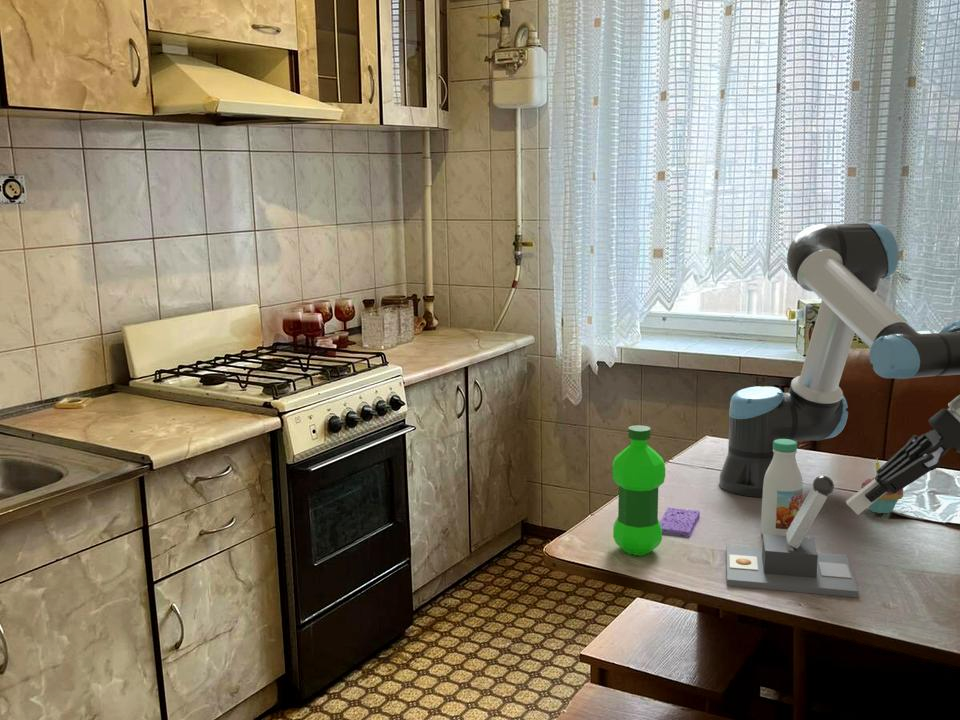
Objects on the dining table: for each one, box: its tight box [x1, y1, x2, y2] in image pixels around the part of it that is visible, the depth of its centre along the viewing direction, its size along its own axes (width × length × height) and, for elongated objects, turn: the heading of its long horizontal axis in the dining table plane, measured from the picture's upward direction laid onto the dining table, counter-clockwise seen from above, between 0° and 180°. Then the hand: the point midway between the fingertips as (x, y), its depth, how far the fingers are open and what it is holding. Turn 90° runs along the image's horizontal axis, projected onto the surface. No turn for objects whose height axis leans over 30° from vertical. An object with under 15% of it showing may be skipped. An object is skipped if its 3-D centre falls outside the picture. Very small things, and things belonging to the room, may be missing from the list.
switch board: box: [725, 534, 859, 599], centre depth 168 cm, size 22×16×6 cm
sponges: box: [659, 506, 701, 538], centre depth 193 cm, size 7×13×2 cm, turn 157°
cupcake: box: [860, 458, 904, 514], centre depth 198 cm, size 9×8×12 cm
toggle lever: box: [786, 475, 835, 549], centre depth 165 cm, size 4×6×14 cm, turn 166°
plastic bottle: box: [612, 424, 666, 556], centre depth 177 cm, size 10×10×25 cm
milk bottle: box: [760, 439, 804, 536], centre depth 184 cm, size 8×8×20 cm
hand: (851, 507), depth 163 cm, fingers closed
